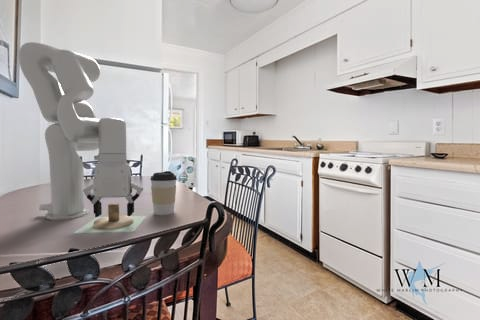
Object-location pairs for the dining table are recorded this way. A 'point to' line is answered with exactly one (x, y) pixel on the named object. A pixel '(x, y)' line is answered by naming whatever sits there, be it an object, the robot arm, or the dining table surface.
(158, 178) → the coffee cup
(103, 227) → the lid
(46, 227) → the dining table surface
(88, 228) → the mat
